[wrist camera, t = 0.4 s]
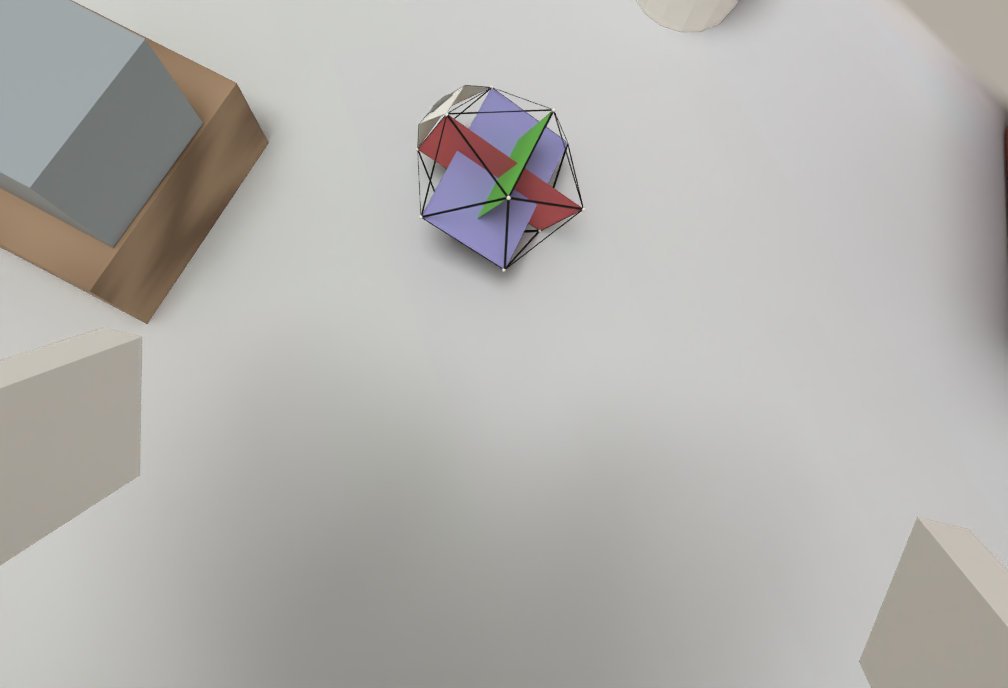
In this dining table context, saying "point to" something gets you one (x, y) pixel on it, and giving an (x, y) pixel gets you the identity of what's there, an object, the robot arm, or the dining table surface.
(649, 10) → the white cup
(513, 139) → the geometric puzzle
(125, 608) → the dining table surface
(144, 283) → the tower base block
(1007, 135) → the plant pot
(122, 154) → the tower top block
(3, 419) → the robot arm
